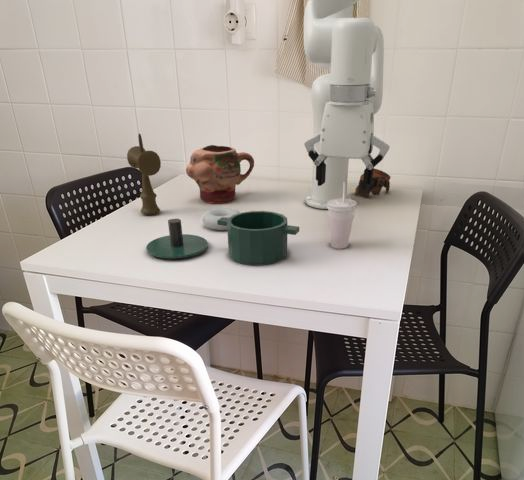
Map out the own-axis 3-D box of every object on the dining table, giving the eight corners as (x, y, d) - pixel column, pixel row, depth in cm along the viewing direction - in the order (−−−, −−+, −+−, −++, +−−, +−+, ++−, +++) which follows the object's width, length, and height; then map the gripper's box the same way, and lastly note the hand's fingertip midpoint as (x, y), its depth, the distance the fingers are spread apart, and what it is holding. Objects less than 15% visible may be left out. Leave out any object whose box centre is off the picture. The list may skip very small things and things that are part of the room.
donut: (197, 231, 123) (237, 232, 121) (196, 217, 121) (236, 218, 119) (209, 218, 131) (247, 219, 129) (208, 205, 129) (246, 206, 127)
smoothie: (335, 252, 109) (339, 187, 102) (319, 243, 114) (322, 180, 106) (359, 247, 112) (365, 182, 104) (342, 238, 116) (347, 176, 109)
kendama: (146, 219, 131) (134, 137, 120) (133, 210, 138) (121, 132, 127) (168, 215, 133) (158, 134, 123) (154, 206, 140) (143, 129, 129)
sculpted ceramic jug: (244, 188, 154) (242, 140, 147) (263, 198, 145) (262, 147, 138) (182, 198, 146) (177, 148, 139) (199, 209, 137) (194, 156, 130)
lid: (168, 235, 120) (165, 208, 117) (218, 243, 116) (216, 214, 112) (134, 256, 110) (129, 226, 106) (188, 265, 105) (184, 234, 102)
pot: (234, 239, 118) (232, 207, 114) (306, 249, 111) (307, 215, 107) (208, 258, 108) (205, 224, 104) (286, 271, 102) (286, 235, 98)
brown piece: (347, 193, 149) (359, 166, 148) (374, 206, 152) (386, 179, 150) (363, 193, 138) (376, 163, 136) (392, 207, 141) (405, 178, 139)
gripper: (398, 94, 96) (388, 185, 105) (312, 92, 102) (310, 179, 111) (390, 98, 90) (380, 194, 99) (299, 96, 97) (298, 187, 106)
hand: (343, 186), depth 105 cm, fingers open, 9 cm apart
